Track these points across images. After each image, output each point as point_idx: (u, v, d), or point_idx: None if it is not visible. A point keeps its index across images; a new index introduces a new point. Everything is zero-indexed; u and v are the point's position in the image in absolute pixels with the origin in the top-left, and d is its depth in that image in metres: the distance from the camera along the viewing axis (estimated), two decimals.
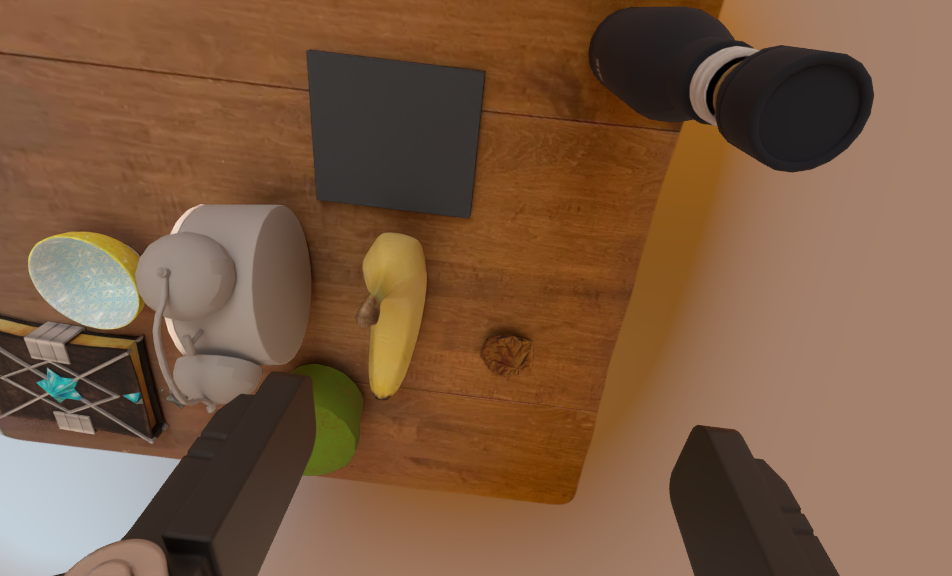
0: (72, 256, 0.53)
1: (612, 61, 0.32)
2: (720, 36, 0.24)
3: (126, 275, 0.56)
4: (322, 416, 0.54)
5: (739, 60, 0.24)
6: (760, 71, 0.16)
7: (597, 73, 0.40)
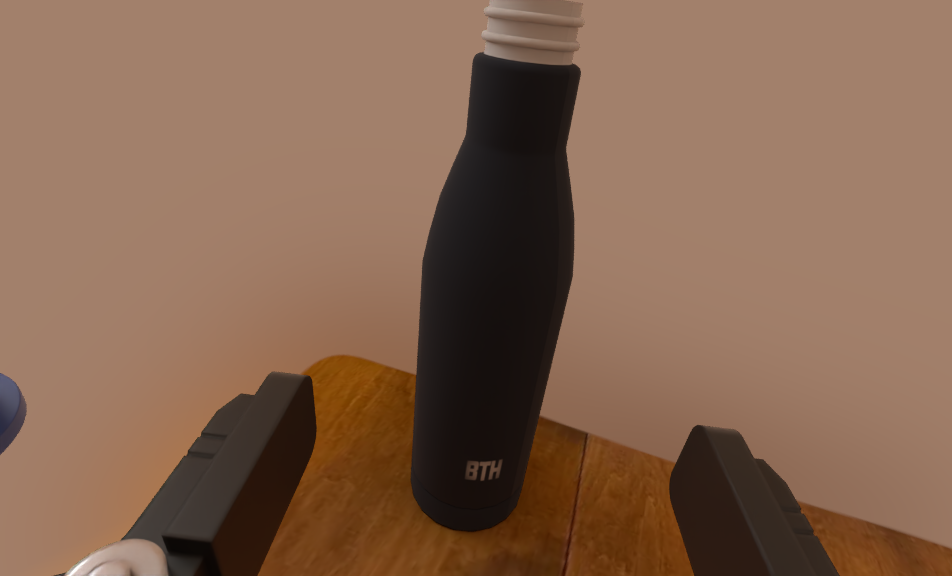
0: None
1: (472, 361, 0.19)
2: None
3: None
4: None
5: None
6: None
7: (489, 488, 0.24)
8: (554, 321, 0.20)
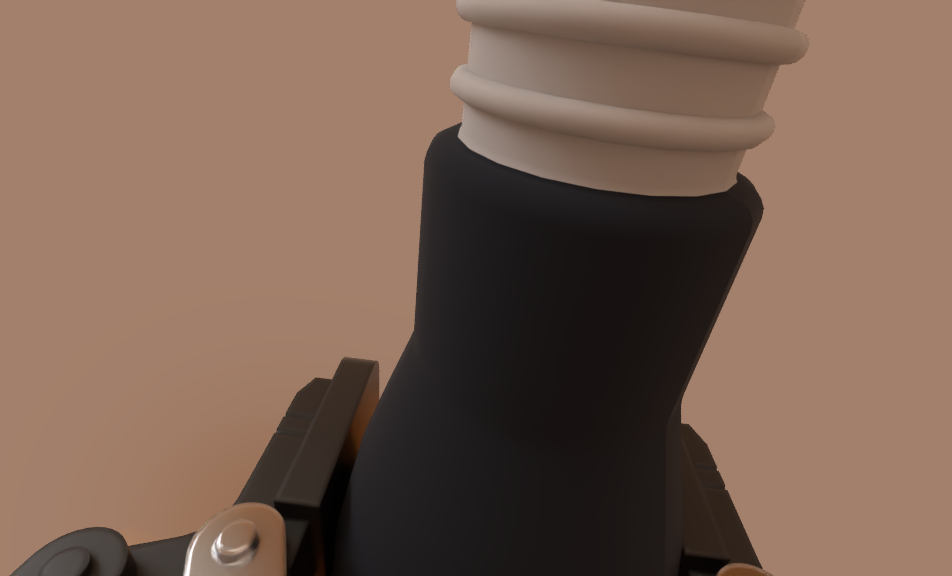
0: None
1: None
2: None
3: None
4: None
5: None
6: None
7: None
8: None
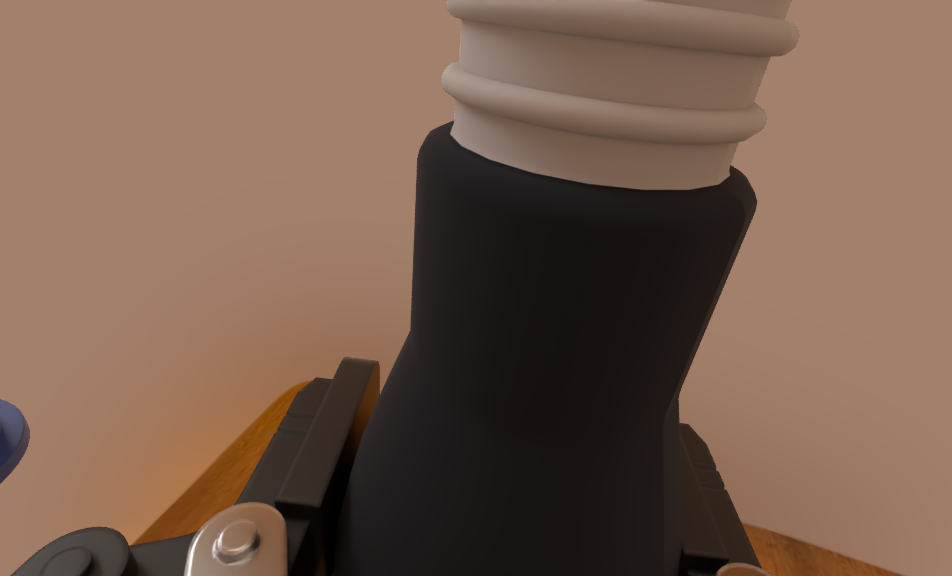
0: None
1: None
2: None
3: None
4: None
5: None
6: None
7: None
8: None
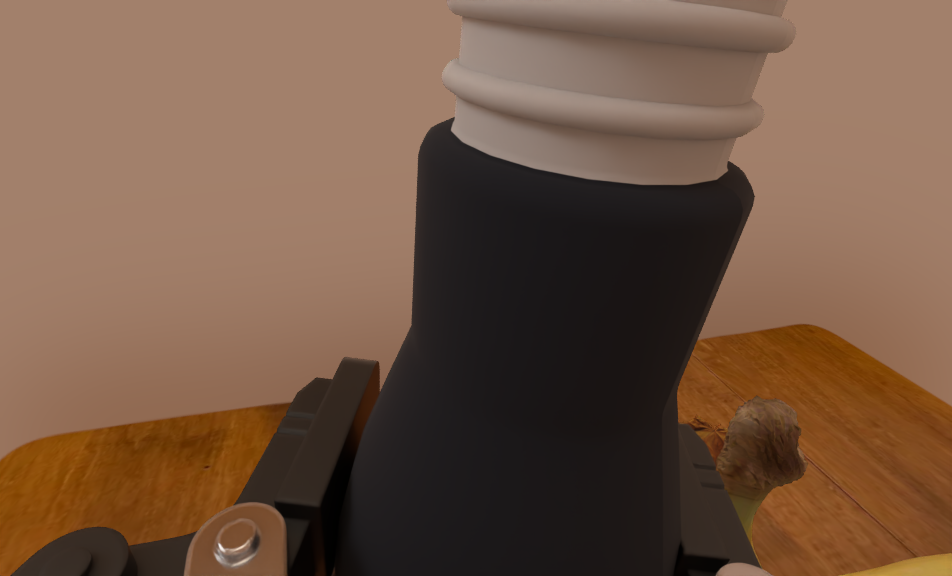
0: None
1: None
2: None
3: None
4: None
5: None
6: None
7: None
8: None
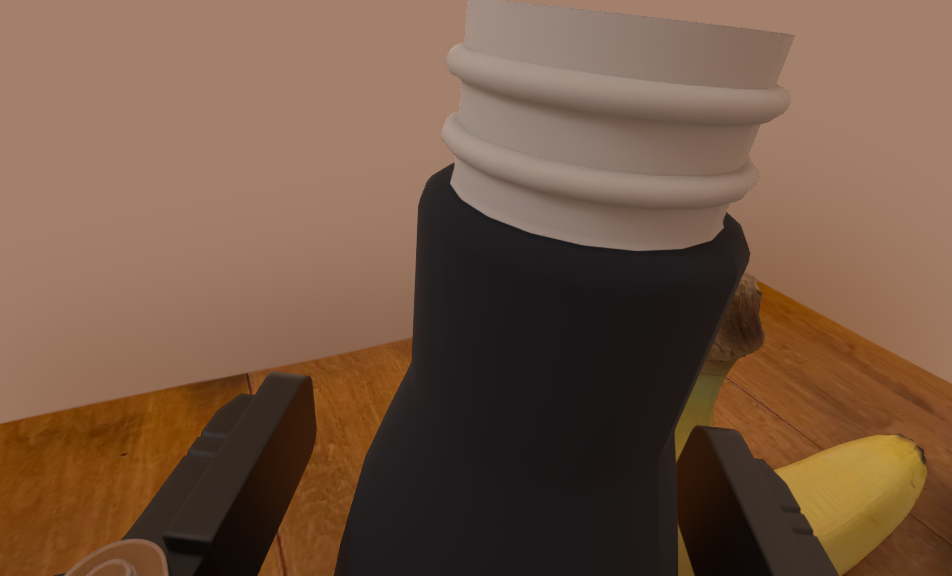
0: None
1: None
2: None
3: None
4: None
5: None
6: None
7: None
8: None
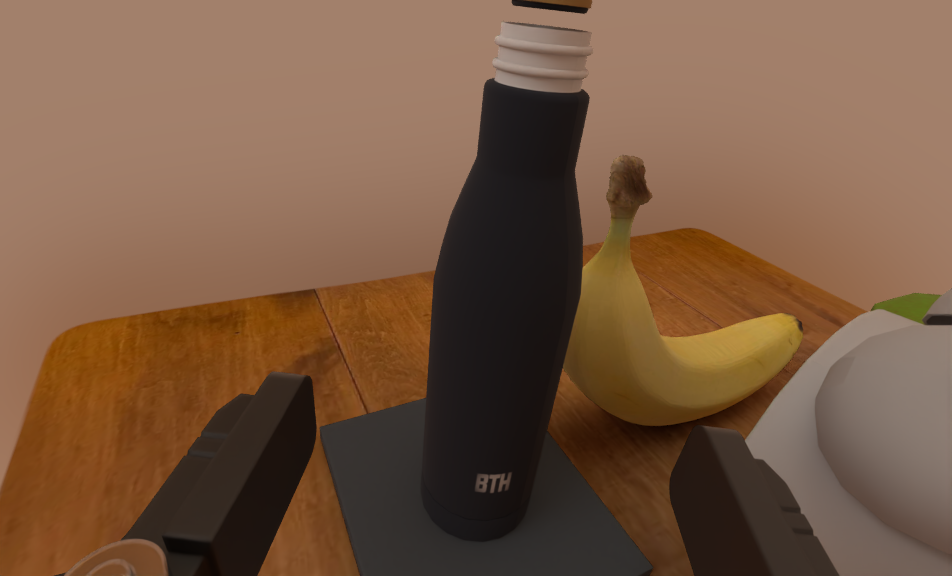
0: None
1: (482, 378, 0.20)
2: None
3: None
4: None
5: None
6: None
7: (498, 500, 0.24)
8: (563, 338, 0.20)
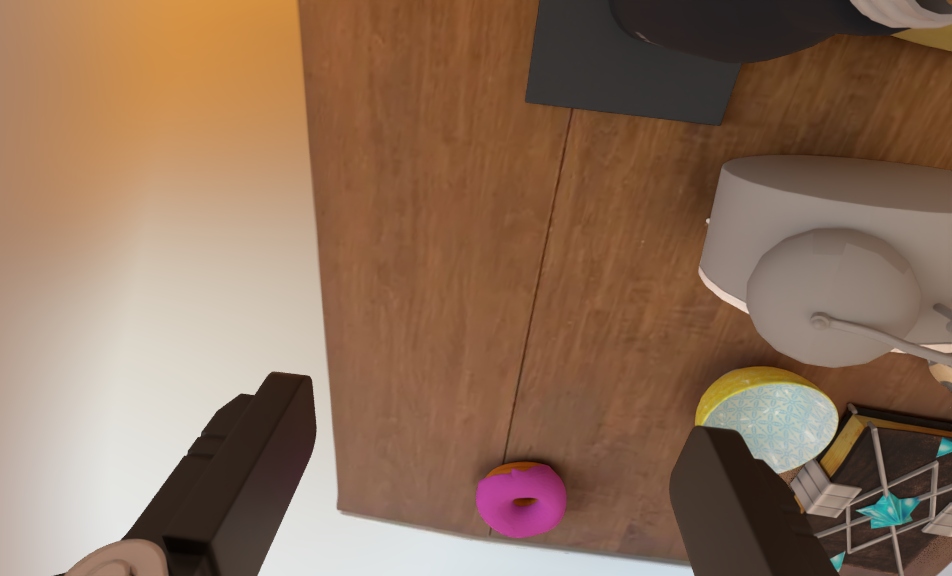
0: None
1: (664, 32, 0.22)
2: None
3: (760, 390, 0.46)
4: None
5: None
6: None
7: (649, 42, 0.29)
8: None
